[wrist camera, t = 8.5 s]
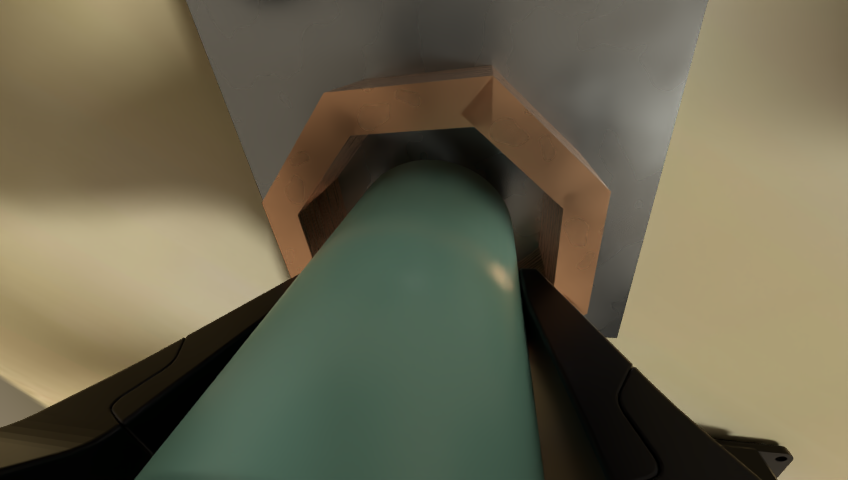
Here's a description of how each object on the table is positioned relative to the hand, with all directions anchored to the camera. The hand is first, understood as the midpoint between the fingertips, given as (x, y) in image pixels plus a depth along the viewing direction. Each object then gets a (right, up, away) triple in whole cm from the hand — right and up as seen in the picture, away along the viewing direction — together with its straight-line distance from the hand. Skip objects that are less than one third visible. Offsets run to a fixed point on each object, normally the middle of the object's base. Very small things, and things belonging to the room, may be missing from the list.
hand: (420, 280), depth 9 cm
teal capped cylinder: (0, +1, +2) cm, 2 cm away
